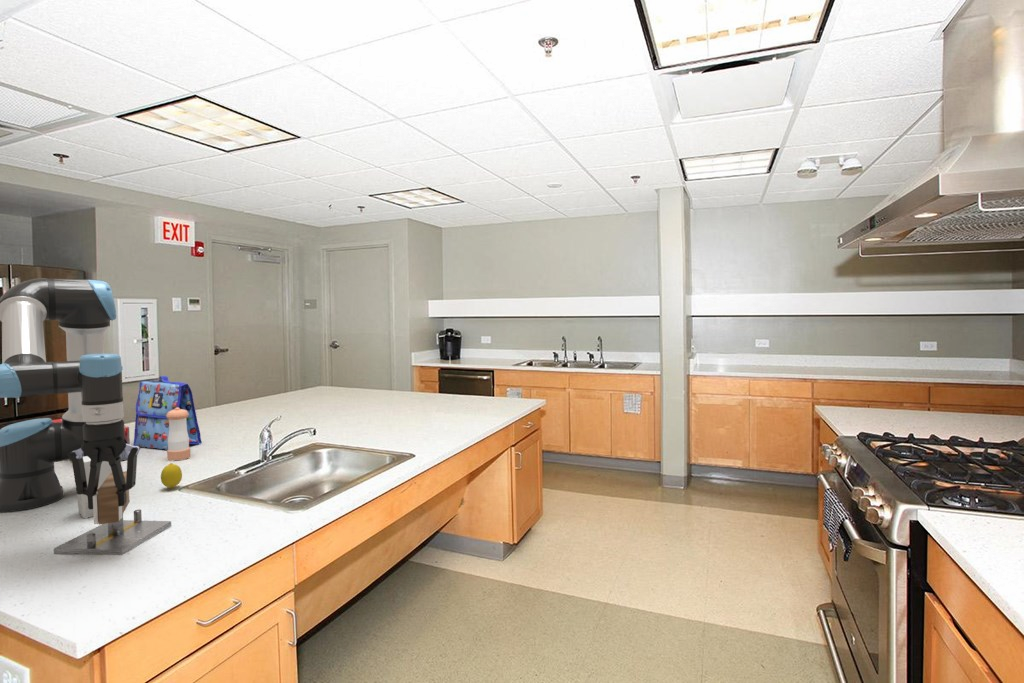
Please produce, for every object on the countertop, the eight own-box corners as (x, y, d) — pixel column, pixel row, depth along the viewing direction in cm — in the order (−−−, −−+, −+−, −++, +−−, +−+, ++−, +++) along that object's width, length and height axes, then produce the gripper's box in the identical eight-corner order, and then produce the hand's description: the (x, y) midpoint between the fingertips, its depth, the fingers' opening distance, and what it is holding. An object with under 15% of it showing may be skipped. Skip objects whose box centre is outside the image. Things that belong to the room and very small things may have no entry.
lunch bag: (132, 447, 208) (129, 376, 206) (163, 439, 221) (161, 372, 219) (173, 451, 202) (170, 378, 200) (203, 443, 215) (201, 374, 213)
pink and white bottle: (195, 455, 196) (193, 406, 195) (180, 461, 189) (179, 409, 188) (177, 455, 197) (175, 405, 196) (162, 460, 190) (160, 409, 188)
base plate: (53, 553, 117) (52, 526, 117) (110, 524, 133) (109, 501, 133) (122, 555, 117) (121, 528, 116) (171, 525, 133) (170, 502, 132)
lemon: (158, 492, 157) (157, 466, 156) (165, 486, 162) (164, 461, 162) (178, 490, 158) (178, 465, 158) (185, 484, 164) (184, 460, 163)
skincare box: (114, 504, 147) (112, 450, 146) (121, 510, 143) (119, 455, 142) (76, 513, 140) (74, 457, 139) (82, 519, 136) (80, 461, 135)
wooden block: (111, 504, 130) (110, 473, 129) (129, 501, 132) (128, 471, 131) (98, 524, 118) (97, 490, 117) (118, 521, 119) (117, 487, 119)
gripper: (51, 427, 112) (57, 532, 113) (140, 421, 118) (144, 522, 119) (67, 420, 119) (72, 519, 120) (150, 415, 125) (154, 510, 126)
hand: (108, 520), depth 120 cm, fingers closed on wooden block, 3 cm apart
